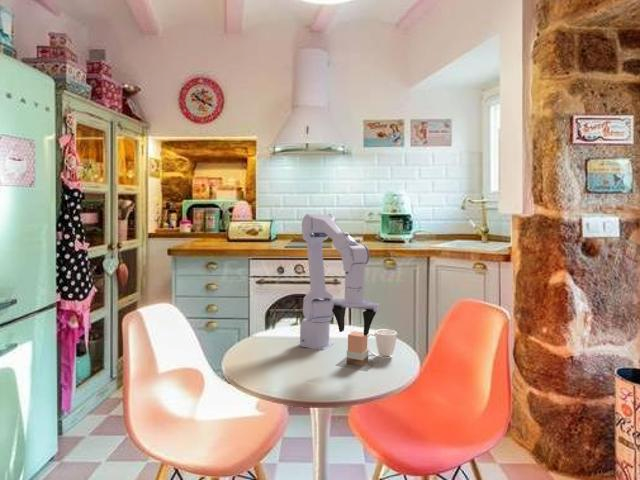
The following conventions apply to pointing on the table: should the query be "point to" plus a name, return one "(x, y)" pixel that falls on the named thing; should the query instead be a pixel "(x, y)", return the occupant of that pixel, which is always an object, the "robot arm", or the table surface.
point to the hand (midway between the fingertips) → (353, 332)
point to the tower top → (357, 355)
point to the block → (357, 342)
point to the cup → (384, 342)
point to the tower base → (357, 362)
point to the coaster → (364, 368)
